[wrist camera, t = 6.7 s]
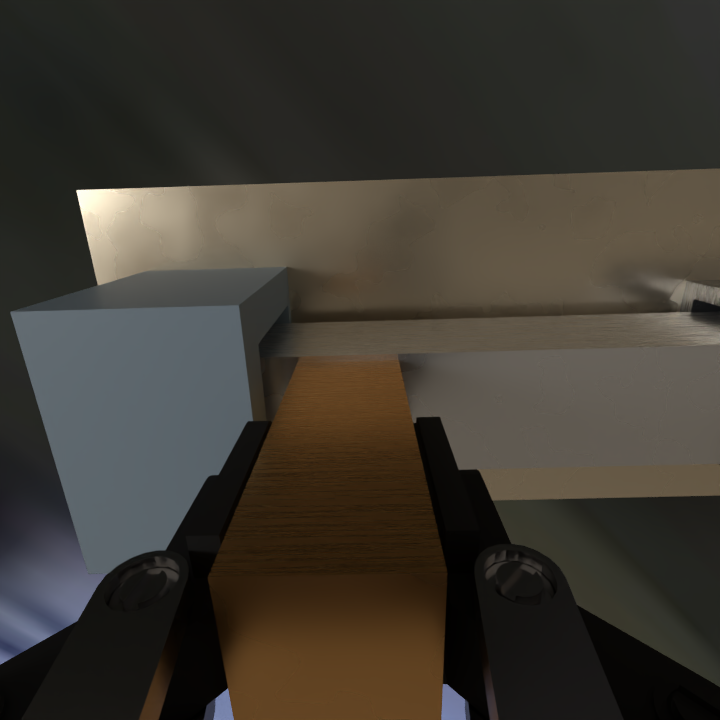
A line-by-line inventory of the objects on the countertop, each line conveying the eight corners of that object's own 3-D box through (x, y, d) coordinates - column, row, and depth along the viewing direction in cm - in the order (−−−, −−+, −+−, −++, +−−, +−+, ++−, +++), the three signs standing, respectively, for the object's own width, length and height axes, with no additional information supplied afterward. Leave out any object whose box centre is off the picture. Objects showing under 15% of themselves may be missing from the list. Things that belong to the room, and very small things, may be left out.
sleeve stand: (1178, 154, 17) (1721, 120, 10) (1008, 475, 21) (1301, 598, 15) (92, 191, 17) (-77, 182, 11) (157, 494, 22) (68, 620, 15)
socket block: (286, 266, 17) (238, 304, 10) (302, 448, 20) (271, 570, 13) (146, 271, 17) (10, 311, 11) (179, 451, 20) (88, 573, 13)
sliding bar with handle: (806, 308, 16) (1776, 534, 5) (775, 406, 18) (1496, 755, 6) (193, 325, 17) (-151, 571, 6) (209, 420, 18) (-45, 774, 7)
